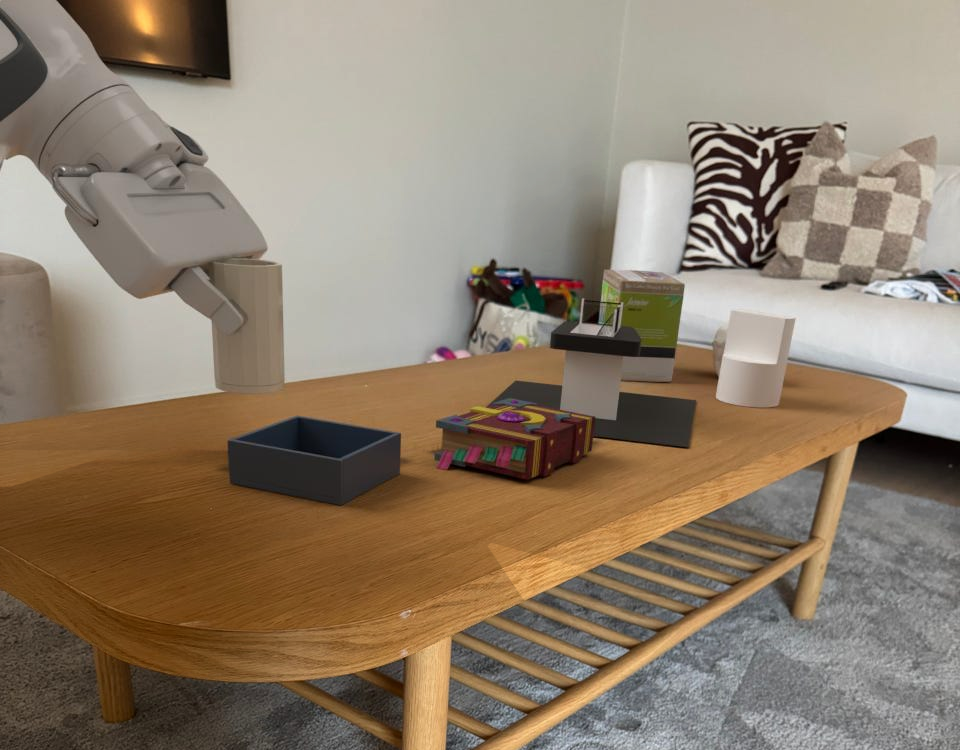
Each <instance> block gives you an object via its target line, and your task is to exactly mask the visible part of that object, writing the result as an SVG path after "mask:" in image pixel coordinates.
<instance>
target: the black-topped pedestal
mask: <svg viewBox="0 0 960 750" xmlns="http://www.w3.org/2000/svg"><path fill="white" fill-rule="evenodd" d="M602 303H604V308H603V311H604V310H605V307H606V306H605V303H607V307H608V303H609V304H610V307H611V304H613V307H614V304H615V305H616V307H614V308H617V309H616V310H615V312H614V309H612V312H614V313H613V314H612V313H610V316H611V317H608V320H609V321H610V322H608V320H607V321H606V322H605V321H602V320H603V319H604V316H603V317H602V320H601V321H599V319H601V316H599V315H600V310H602V307H600V304H601V306H602ZM617 304H618V305H619V304H621V305H619V307H617ZM611 308H612V307H611ZM611 308H610V309H609V312H610V311H611ZM622 309H623V302H621V303H612V302H601V300H589V299H585V298H581V305H580V313H579V314H580V315H579V321H576V320H575V321H574V320H573V321H563V322H562V323H561V324H559V325H558V326H557V327H555V328H554V329H553V330H552V331H551V332H550V339H549V340H550V342H549V349H552V350H559V351H565V356H564V365H563V375H562V376H563V377H562V385H560V384H552V383H544V382H533V381H526V380H525V381H524V380H514V381H513V382H512V383H511V384H509V386H508V387H506V389H504V390H503V391H502V392H501V393H500V394H499V395H497V396H496V397H495V398H494V399H493V400H492V401H491V402H490V403H489V404H488V405H487V406H486V407H489V406H492V403H495V402H499V401H502V400H505V399H508V398H511V399H516V400H521V401H526V402H531V403H536V404H538V406H543V407H548V408H553V409H559V410H564V411H569V412H574V413H579V414H584V415H590V416H595V425H594V434H593V437H597V438H600V437H601V438H606V439H607V438H608V439H615V440H616V439H617V440H623V441H631V442H641V443H650V444H657V445H665V446H674V447H684V448H689V446H690V440H691V434H692V428H693V421H694V415H695V410H696V402H697V400H696V399H689V398H682V397H681V398H679V397H671V396H663V395H652V394H646V393H645V394H643V393H634V392H627V391H625V392H624V391H620V389H621V382H622V380H621V375H622V367H623V359H624V356H627V357H639V355H640V349H641V341H642V339H641V337H640V336H639V334H638V333H637V332H636V330H635V329H634V328H633V327H628V326H621V317H622ZM603 311H602V312H601V315H602V314H603ZM606 311H608V308H606ZM609 312H608V313H607V316H608V315H609ZM604 315H606V312H604ZM607 316H606V317H605V320H606V319H607ZM612 316H613V317H612ZM610 318H611V319H610ZM613 318H614V319H613ZM612 320H613V322H612ZM600 322H602V324H599V323H600ZM603 322H605V324H603ZM606 323H608V324H606ZM610 323H611V325H610Z"/></svg>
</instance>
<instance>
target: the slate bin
mask: <svg viewBox="0 0 960 750" xmlns="http://www.w3.org/2000/svg"><path fill="white" fill-rule="evenodd" d="M401 449H402V433H401V432H397V431H392V430H386V429H380V428H375V427H368V426H362V425H356V424H351V423H344V422H338V421H332V420H326V419H320V418H316V417H315V418H314V417H309V416H303V415H294V416H292V417H288V418H286V419H283V420H280V421H277V422H275V423H271V424H269V425H266V426H262V427H260V428H257V429H254V430H252V431H248V432H245V433H243V434H240V435H237V436H235V437H232V438H229V439H227V457H228V476H229V478H228V479H229V484H232V485H236V486H242V487H246V488H250V489H251V488H252V489H257V490H262V491H266V492H271V493H276V494H280V495H281V494H282V495H286V496H291V497H297V498H301V499H306V500H313V501H317V502H322V503H326V504H332V505H336V506H343V505H344V504H346V503H348V502H350V501H352V500H354V499H355V498H357V497H359V496H361V495H363V494H365V493H366V492H368V491H370V490H372V489H374V488H376V487H378V486H380V485H382V484H383V483H385V482H387V481H389V480H390V479H392V478H394V477H397V476H398V475H400V474H401V455H402V454H401V453H402V452H401V451H402V450H401Z"/></svg>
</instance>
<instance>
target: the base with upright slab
mask: <svg viewBox="0 0 960 750" xmlns="http://www.w3.org/2000/svg"><path fill="white" fill-rule="evenodd" d="M796 319H797V318H796V317H794V316H787V315H783V314H775V313H769V312H762V311H755V310H750V309H744V308H735V309H730V314H729V320H728V321H729V325H728V331H727V337H726V343H725V349H724V354H723V357H722V362H721V368H720V374H719V377H718V380H717V386H716V391H715V398H716V399H717V400H718V401H720V402H722V403H725V404H730V405H734V406H739V407H747V408H748V407H749V408H760V409H761V408H774V407H778V406H779V404H780V400H781V397H782V391H783V385H784V380H785V376H786V371H787V366H788V359H789V353H790V349H791V345H792V339H793V334H794V329H795V324H796Z"/></svg>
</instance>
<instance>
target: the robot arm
mask: <svg viewBox="0 0 960 750" xmlns="http://www.w3.org/2000/svg"><path fill="white" fill-rule="evenodd" d="M16 156H24V157H25V158H27V159H29V160H30V161H31V162H32V163H33V165H34V166H35V168H36V169H37V170H38V172H39V173H40V174H41V175H42V176H43V177H44V178H45V179H46V180H47V181H48V182H49V184H50V185H51V187H52V189H53V191H54V192H55V194H56V195H57V196H58V197H59V198H60V200H61V201H62V202H63V203H64V204H65V205H66V206H65V207H64V216H65V219H66V221H67V222H68V224H69V226H70V227H71V229H72V231H73V232H74V233H75V234H76V236H77V238H78V239H79V240H80V241H81V242H82V244H83V245H84V247H85V248H86V249H87V250H88V251H89V253H90V254H91V255H92V256H93V258H94V259H95V260H96V261H97V263H98V264H99V265H100V266H101V268H102V269H103V270H104V271H105V273H107V275H108V276H109V277H110V279H112V280H113V282H114V283H115V284H116V285H117V286H118V287H119V288H120V289H122V290H123V291H125V292H126V293H127V294H129V295H130V296H132V297H134V298H136V299H139V300H142V299H147V298H152V297H155V296H160V295H164V294H167V293H173V292H174V293H175V294H176V295H177V296H178V297H179V298H180V299H181V301H182V302H184V303H185V304H186V305H188V306H189V307H191V308H192V309H194V310H195V311H196V312H198V313H200V314H201V315H202V316H204V317H205V318H206V319H209V320H210V321H211V323H212V322H213V323H214V324H215V325H216V326H217V327H218V328H219V330H220V331H221V332H222V333H223V334H225V335H231V334H234V333H236V332H238V331H239V330H240V329H241V328H242V327H243V326H244V325H245V324H246V323H247V321H248V317H247V314H246V313H245V312H244V311H243V310H241V308H240V307H239V306H238V304H237V303H236V302H235V301H234V300H233V299H232V300H228V299H227V298H226V297H225V296H224V295H223V294H222V293H221V292H220V291H219V290H217V289H216V288H215V287H214V286H213V285H212V284H211V283H210V282H209V280H210V278H209V266H208V263H211V262H214V261H215V262H219V261H225V260H228V259H230V258H242V259H258V260H261V259H262V258H263V257H264V255H265V254H266V253H267V252H268V249H269V247H268V244H267V240H266V239H265V236H264V235H263V232H262V230H261V229H260V228H259V226H258V225H257V224H256V222H255V220H254V219H253V218H252V217H251V215H250V213H248V212H247V210H246V209H245V207H244V206H243V205H242V204H241V202H240V201H239V200H238V198H237V197H236V196H235V195H234V194H233V192H232V191H231V190H230V189H229V187H228V186H227V185H226V184H225V182H224V181H223V180H222V179H221V178H220V177H219V176H218V174H216V173H215V172H214V171H213V170H211V169H210V168H209V167H207V166H205V165H206V164H207V162H208V161H209V155H208V154H207V152H206V151H205V150H204V148H203V147H202V146H201V145H200V144H199V143H198V141H196V139H194V138H193V137H192V136H190V135H188V134H186V133H184V132H182V131H181V130H179V129H177V128H176V127H174V126H171V125H170V124H169V123H168V122H166V121H165V120H163V119H162V117H161V116H160V115H159V114H158V113H157V112H156V111H155V110H153V109H151V108H150V106H149V105H147V103H146V102H145V101H144V100H143V99H142V97H141V96H140V95H139V94H138V93H137V91H136V90H135V89H134V88H133V87H132V86H131V85H130V84H129V83H128V81H126V80H125V79H123V78H122V77H120V76H119V75H117V74H116V73H115V72H113V71H112V70H110V69H109V67H107V65H106V64H105V63H104V62H103V61H102V59H101V58H100V56H99V55H98V53H97V51H96V49H95V47H94V45H93V43H92V41H91V39H90V38H89V36H88V34H86V32H85V31H84V30H83V29H82V27H80V25H79V24H78V23H77V22H76V21H75V19H73V17H72V16H71V15H70V13H68V11H67V10H66V8H64V7H63V6H62V5H61V4H60V3H59V1H58V0H0V172H1V170H2V168H3V165H4V162H5V160H6V161H7V160H10V159H12V158H15V157H16Z"/></svg>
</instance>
